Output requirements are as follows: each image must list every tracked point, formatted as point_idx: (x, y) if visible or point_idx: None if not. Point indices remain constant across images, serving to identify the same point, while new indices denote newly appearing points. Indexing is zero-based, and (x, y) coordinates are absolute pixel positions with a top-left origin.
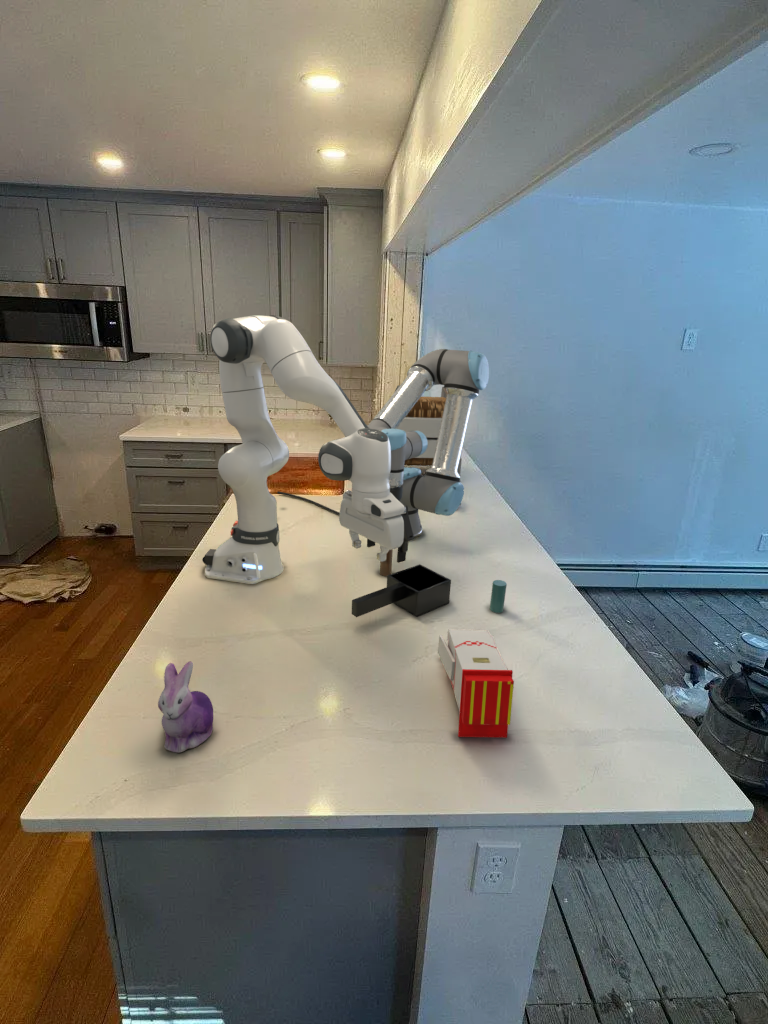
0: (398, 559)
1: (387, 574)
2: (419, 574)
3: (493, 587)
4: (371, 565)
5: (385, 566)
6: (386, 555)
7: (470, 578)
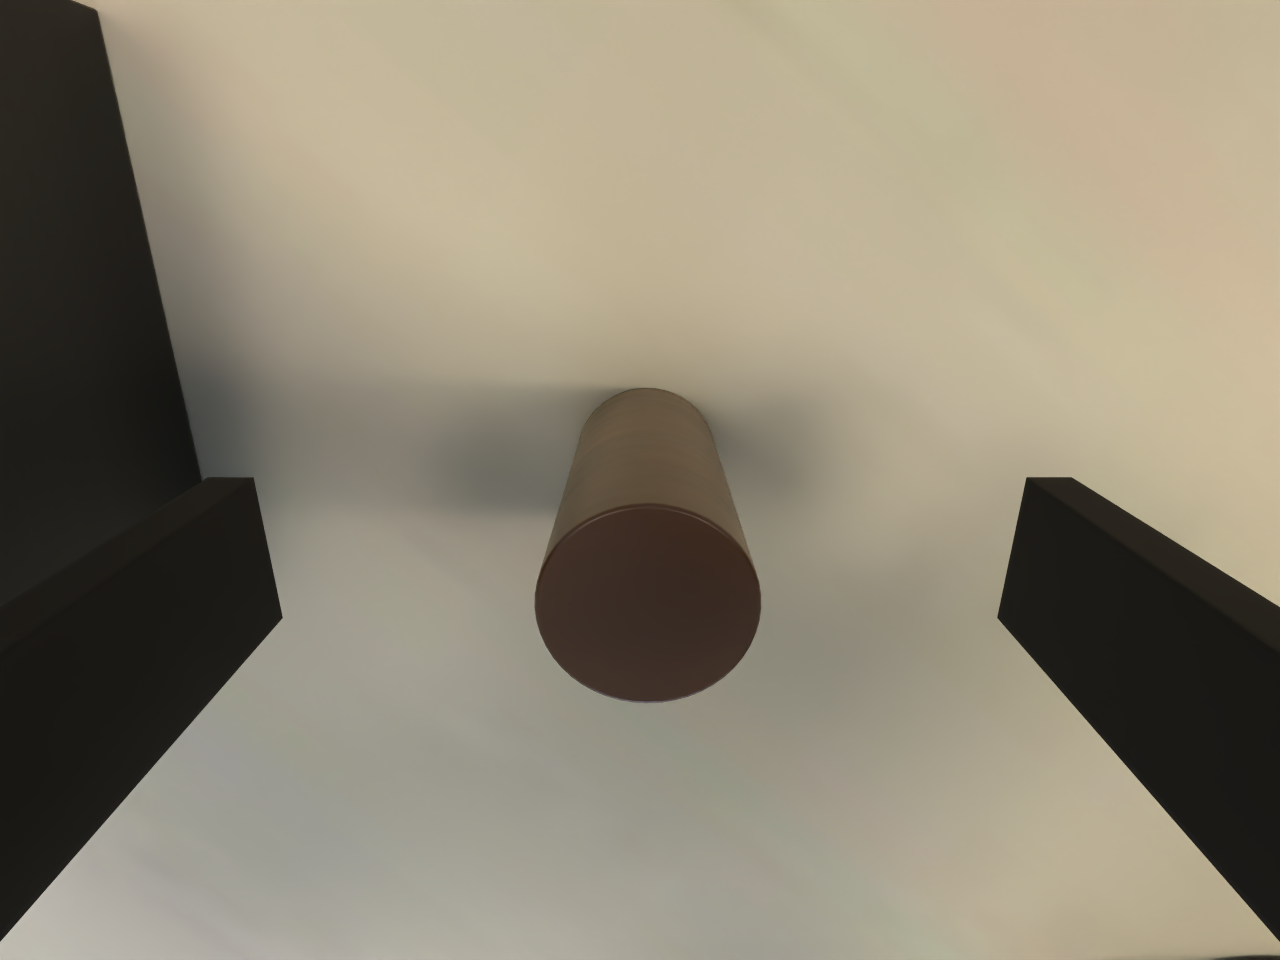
0: (181, 501)
1: (581, 435)
2: None
3: None
4: (905, 462)
5: (588, 443)
6: (568, 510)
7: (158, 952)
